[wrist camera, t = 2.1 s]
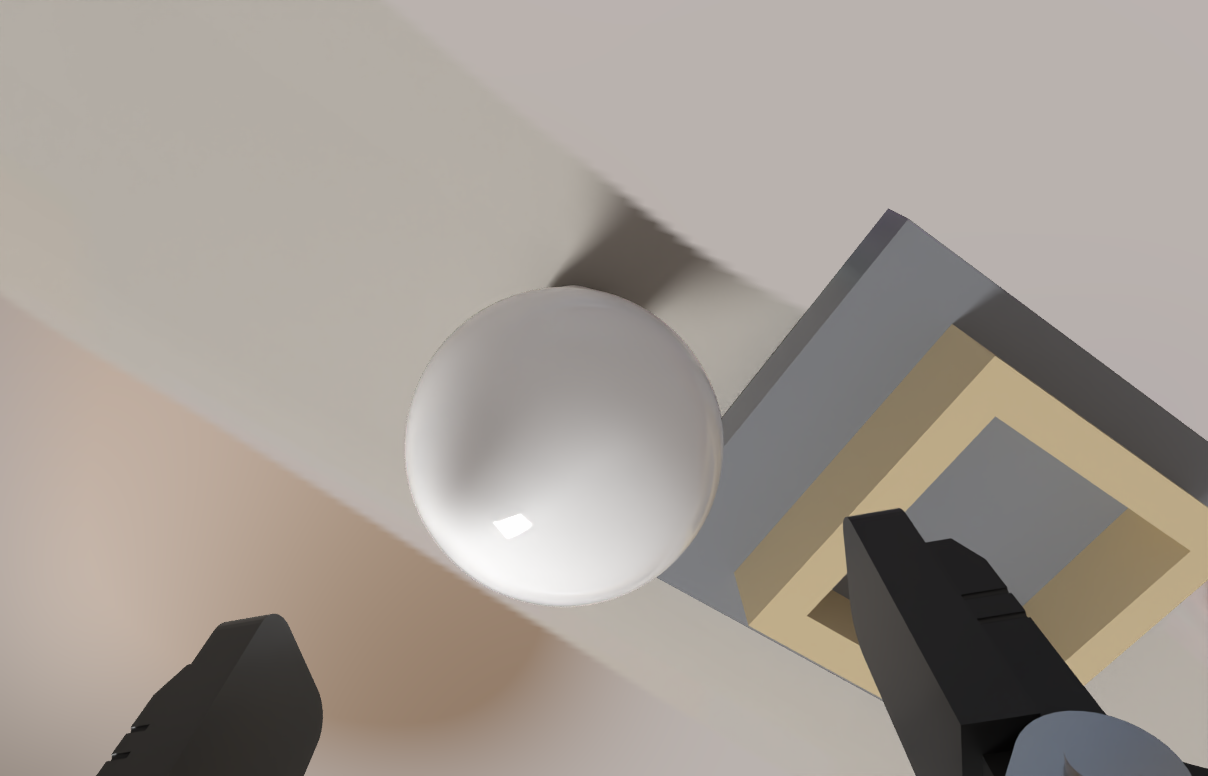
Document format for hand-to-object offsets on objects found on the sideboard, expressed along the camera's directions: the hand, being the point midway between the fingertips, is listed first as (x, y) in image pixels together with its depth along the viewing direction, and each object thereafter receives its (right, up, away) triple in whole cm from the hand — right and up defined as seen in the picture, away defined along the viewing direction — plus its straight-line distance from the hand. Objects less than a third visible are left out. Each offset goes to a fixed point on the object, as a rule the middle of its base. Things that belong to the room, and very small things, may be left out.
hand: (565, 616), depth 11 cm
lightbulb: (0, +5, +12) cm, 13 cm away
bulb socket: (+12, -1, +15) cm, 19 cm away
